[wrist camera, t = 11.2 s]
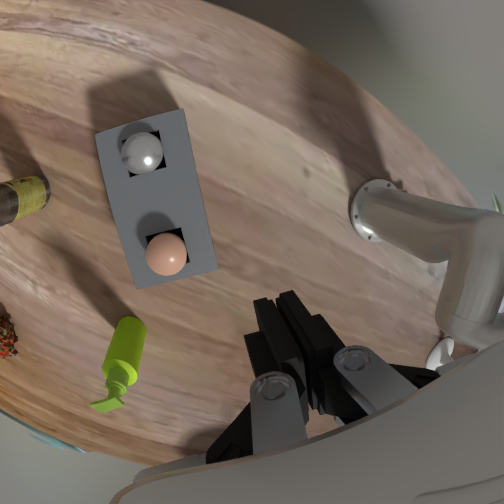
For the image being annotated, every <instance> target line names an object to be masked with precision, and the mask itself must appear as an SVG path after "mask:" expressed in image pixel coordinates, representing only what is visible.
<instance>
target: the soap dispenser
mask: <svg viewBox="0 0 504 504" xmlns="http://www.w3.org/2000/svg"><path fill="white" fill-rule="evenodd" d="M145 336H146V327H145V325H144V324H143V322H142V321H141V320H139V319H137V318H135V317H131V316H127V317H124V318H122V319H120V321H119V322H118V324H117V327H116V330H115V332H114V335H113V338H112V340H111V343H110V346H109V349H108V351H107V354H106V357H105V360H104V363H103V366H102V372H103V374H104V376H105V377H106V379H107V380H106V383H105V387H106V389H107V391H108V392H109V394H108V398H105V399H103V400H100V401H95V402H91V403H90V405H91V406H92V407H93V408H94V409H95V410H97V411H98V412H106V411H110V410H113V409H116V408H118V407H121V406H123V404H124V402H123V401H121V400H120V399H119V397H120V396H122V395H124V394H125V393H126V391H127V386H130V385H132V384H134V383H135V382H136V380H137V376H138V371H139V365H140V360H141V355H142V350H143V345H144V340H145Z"/></svg>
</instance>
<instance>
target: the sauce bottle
mask: <svg viewBox="0 0 504 504" xmlns="http://www.w3.org/2000/svg"><path fill="white" fill-rule="evenodd" d="M49 198H50V187H49V185H48V182H47V181H46V180H45V179H44V178H43V177H40V176H29V177H24V178H19V179H14V180H10V181H6V182H2V183H0V226H3V225H5V224H8V223H11V222H14V221H16V220H18V219H20V218H22V217H25V216H27V215H29V214H32V213H34V212H36V211H38V210H40V209H42V208H43V207H45V206H46V204H47V203H48V200H49Z"/></svg>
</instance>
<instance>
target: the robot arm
mask: <svg viewBox="0 0 504 504" xmlns="http://www.w3.org/2000/svg"><path fill="white" fill-rule="evenodd" d="M350 214H351V222H352V225H353V228H354V230H355V231H356V233H357V234H358V235H359V236H360V237H361V238H363V239H365V240H366V241H369V242H381V241H386V242H388V243H390V244H392V245H394V246H396V247H398V248H400V249H402V250H404V251H406V252H408V253H410V254H411V255H413V256H415V257H417V258H419V259H421V260H423V261H425V262H429V263H440V262H444V261H447V260H449V261H448V265H447V271H446V275H445V279H444V282H443V286H442V289H441V292H440V296H439V299H438V302H437V306H436V310H435V320H436V323H437V325H438V327H439V328H440V329H441V330H442V331H443V332H444V333H445V334H447V335H448V336H450V337H452V338H454V339H456V340H458V341H460V342H463V343H465V344H467V345H470V346H472V347H475V348H477V349H480V350H481V351H480V352H478V353H475V354H471V355H468V356H466V357H463V358H461V359H458V360H456V361H453V362H450V363H447V364H445V365H442V366H439V367H436V370H435V371H433V370H431V369H426V368H418V367H410V366H402V365H395V364H388V363H386V362H385V361H384V360H383V359H382V358H380V357H379V356H378V355H377V354H375V353H374V352H373V351H372V350H370V349H369V348H367V347H364V346H358V345H353V346H348V347H346V346H345V345H344V344H343V342H342V341H341V340H340V338H339V337H338V336H337V335H336V333H335V332H334V331H333V330H332V328H331V327H330V326H329V324H328V323H327V322H326V321H325V319H324V318H323V317H322V316H321V315H320V314H317V315H313V316H311V314H310V313H309V312H308V310H307V309H306V308H305V306H304V305H303V303H302V302H301V301H300V299H299V298H298V297H297V295H296V294H295V292H294V291H293V290H291V291H287V292H284V293H280V294H279V298H276V305H275V303H274V302H273V300H272V299H271V300H267V298H266V297H265V298H262V299H258V300H254V301H253V303H254V308H255V313H256V317H257V322H258V326H259V331H258V332H254V333H251V334H247V335H244V339H245V343H246V346H247V350H248V354H249V358H250V361H251V365H252V368H253V371H254V375H255V378H256V379H255V380H254V381H253V383H252V384H251V386H250V402H249V404H248V405H247V406H246V407H245V408H244V410H243V411H242V412H241V413H240V414H239V415H238V416H237V418H236V419H235V420H234V421H233V422H232V423H231V424H230V426H229V427H228V428H227V429H226V430H225V431H224V432H223V433H222V434H221V436H220V437H219V438H218V439H217V440H216V441H215V442H214V443H213V444H212V445H211V446H210V448H209V449H208V451H207V453H204V454H201V455H199V456H198V455H197V454H193V455H190V456H187V457H184V458H181V459H178V460H175V461H171V462H168V463H165V464H161V465H158V466H154V467H150V468H147V469H144V470H142V471H140V472H139V473H138V474H137V475H136V476H135V478H134V480H133V484H131V485H129V486H127V487H125V488H124V489H122V490H120V491H119V492H118V493H117V494H116V495H115V496H114V497H113V498H112V500H111V501H110V503H109V504H504V313H498V310H499V308H500V305H501V302H502V299H503V296H504V214H502V213H499V212H496V211H492V210H487V209H477V208H468V207H461V206H456V205H452V204H448V203H444V202H440V201H436V200H432V199H429V198H425V197H421V196H417V195H413V194H409V193H405V192H401V191H398V189H397V188H396V186H395V185H394V184H392V183H391V182H389V181H387V180H384V179H372V180H370V181H367V182H366V183H364V184H363V185H362V186H361V187H360V188H359V189H358V191H357V192H356V194H355V196H354V198H353V200H352V204H351V211H350ZM276 306H277V307H276ZM308 402H309V404H310V406H311V408H312V410H314V409H317V410H318V412H319V414H320V415H323V414H325V413H326V414H329V415H333V416H334V420H335V422H336V423H337V424H338V426H339V428H337V429H334V430H332V431H329V432H326V433H324V434H321V435H318V436H315V437H312V438H309V439H308V437H307V433H306V428H305V425H306V424H307V422H308V420H309V414H308V411H309V407H308Z"/></svg>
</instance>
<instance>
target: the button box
mask: <svg viewBox="0 0 504 504" xmlns="http://www.w3.org/2000/svg"><path fill="white" fill-rule="evenodd" d="M140 132H147V133H150V134H153V133H157V132H159V133H160V138H161V143H162V145H163V150H164V157H165V162H166V166H167V167H166V168H162V169H158V170H154V171H152V172H150V173H146V174H140V175H137V176H133V177H131V174H130V171H128V170H127V169H126V168H125V166H124V165H123V162H122V159H121V150H122V147H123V145H124V142H125V141H126V140H127V139H128V138H129V137H130V136H132V135H134V134H136V133H140ZM95 139H96V144H97V150H98V155H99V159H100V164H101V169H102V173H103V178H104V182H105V186H106V190H107V194H108V198H109V202H110V206H111V210H112V213H113V217H114V220H115V224H116V227H117V231H118V234H119V237H120V241H121V244H122V247H123V250H124V253H125V256H126V259H127V262H128V265H129V268H130V271H131V274H132V277H133V280H134V283H135V285H136V288H137V289H141V288H145V287H149V286H153V285H157V284H162V283H166V282H170V281H174V280H178V279H182V278H187V277H191V276H195V275H199V274H203V273H207V272H211V271H215V270H219V269H218V264H217V260H216V255H215V251H214V247H213V242H212V238H211V234H210V230H209V225H208V221H207V217H206V212H205V208H204V204H203V199H202V195H201V190H200V186H199V181H198V176H197V172H196V167H195V162H194V158H193V153H192V148H191V143H190V138H189V133H188V128H187V123H186V118H185V114H184V109H183V108H182V109H178V110H174V111H170V112H166V113H162V114H158V115H154V116H151V117H147V118H144V119H140V120H137V121H133V122H130V123H127V124H124V125H121V126H118V127H115V128H112V129H109V130H106V131H103V132H100V133H97V134H95ZM180 227H181V229H182V233H183V237H184V241H185V245H186V248H187V257H186V262H185V265H184V267H183V268H182V269H181V270H180V271H179V272H178V273H176V274H173V275H169V276H164V275H160V274H157V273H156V272H154V271H153V270H152V269H151V268H150V267H149V265H148V264H147V261H146V249H147V247H148V245H149V243H148V239H147V236H149V235H152V234H156V233H160V232H164V231H168V230H172V229H176V228H180Z"/></svg>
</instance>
